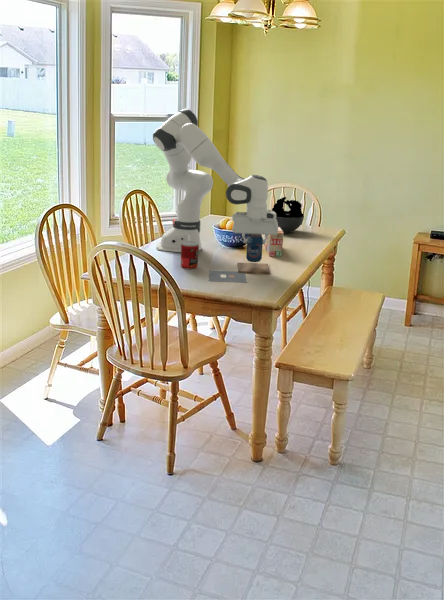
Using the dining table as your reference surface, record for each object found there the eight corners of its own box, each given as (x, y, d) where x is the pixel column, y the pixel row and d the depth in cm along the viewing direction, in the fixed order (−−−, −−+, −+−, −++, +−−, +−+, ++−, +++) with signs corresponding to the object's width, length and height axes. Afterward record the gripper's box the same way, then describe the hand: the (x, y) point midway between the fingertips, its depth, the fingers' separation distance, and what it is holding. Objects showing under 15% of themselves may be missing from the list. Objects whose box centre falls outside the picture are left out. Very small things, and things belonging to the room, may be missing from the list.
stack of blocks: (263, 246, 351) (265, 222, 347) (275, 246, 351) (277, 222, 348) (269, 256, 331) (270, 232, 327) (281, 257, 331) (283, 232, 327)
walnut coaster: (238, 273, 301) (238, 270, 301) (237, 264, 314) (237, 262, 314) (270, 274, 301) (270, 272, 301) (267, 265, 315) (267, 263, 314)
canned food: (191, 270, 302) (192, 246, 299) (177, 266, 306) (177, 243, 302) (201, 266, 308) (202, 242, 305) (186, 263, 312) (187, 240, 309)
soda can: (247, 262, 302) (249, 236, 298) (244, 258, 309) (246, 232, 305) (262, 262, 303) (264, 236, 299) (259, 258, 310) (261, 232, 306)
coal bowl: (299, 237, 372) (302, 203, 366) (263, 233, 377) (265, 200, 371) (305, 230, 390) (308, 197, 384) (271, 226, 395) (273, 194, 389)
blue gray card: (208, 281, 287) (208, 280, 287) (209, 270, 303) (209, 270, 303) (246, 282, 288) (246, 282, 288) (245, 272, 303) (245, 271, 303)
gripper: (232, 213, 296) (231, 244, 301) (279, 215, 297) (277, 246, 301) (232, 210, 302) (230, 240, 307) (278, 212, 303) (276, 242, 307)
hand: (254, 243), depth 304 cm, fingers closed on soda can, 7 cm apart
